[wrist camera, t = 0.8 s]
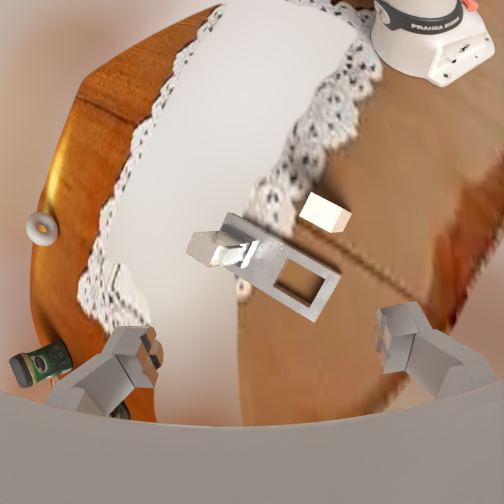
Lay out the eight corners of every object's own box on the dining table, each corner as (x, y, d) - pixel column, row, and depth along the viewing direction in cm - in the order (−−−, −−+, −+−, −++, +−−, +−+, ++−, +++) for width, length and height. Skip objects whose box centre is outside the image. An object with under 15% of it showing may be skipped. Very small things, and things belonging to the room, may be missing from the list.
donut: (49, 216, 73) (20, 216, 64) (54, 209, 72) (24, 208, 63) (59, 247, 72) (29, 249, 63) (64, 240, 71) (33, 242, 62)
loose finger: (351, 213, 44) (342, 208, 33) (342, 231, 45) (330, 232, 34) (324, 199, 45) (306, 189, 34) (315, 217, 46) (294, 213, 35)
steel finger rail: (342, 274, 45) (330, 289, 34) (317, 318, 47) (296, 345, 36) (233, 213, 51) (192, 209, 40) (214, 255, 53) (171, 262, 42)
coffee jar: (53, 344, 78) (4, 359, 61) (63, 337, 75) (10, 353, 58) (66, 373, 77) (18, 392, 60) (76, 368, 74) (25, 388, 57)
